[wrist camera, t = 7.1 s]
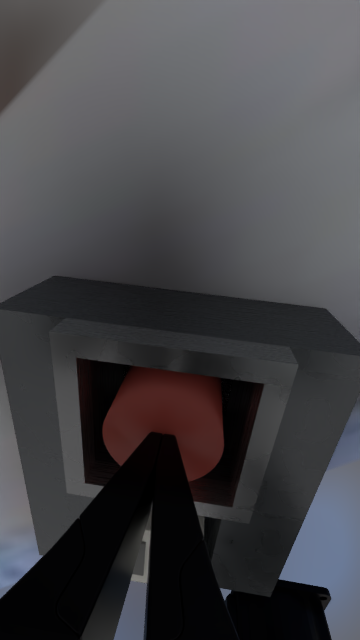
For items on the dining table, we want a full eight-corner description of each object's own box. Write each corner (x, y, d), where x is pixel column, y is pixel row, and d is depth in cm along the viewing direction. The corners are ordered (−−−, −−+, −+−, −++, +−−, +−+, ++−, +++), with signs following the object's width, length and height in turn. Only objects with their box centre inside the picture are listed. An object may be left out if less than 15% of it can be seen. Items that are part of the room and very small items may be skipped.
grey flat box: (325, 308, 12) (394, 377, 8) (258, 514, 18) (274, 624, 13) (54, 275, 13) (-35, 320, 8) (73, 484, 19) (28, 578, 14)
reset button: (226, 330, 13) (233, 401, 8) (214, 401, 14) (214, 491, 10) (138, 319, 13) (101, 382, 9) (136, 390, 15) (103, 473, 10)
